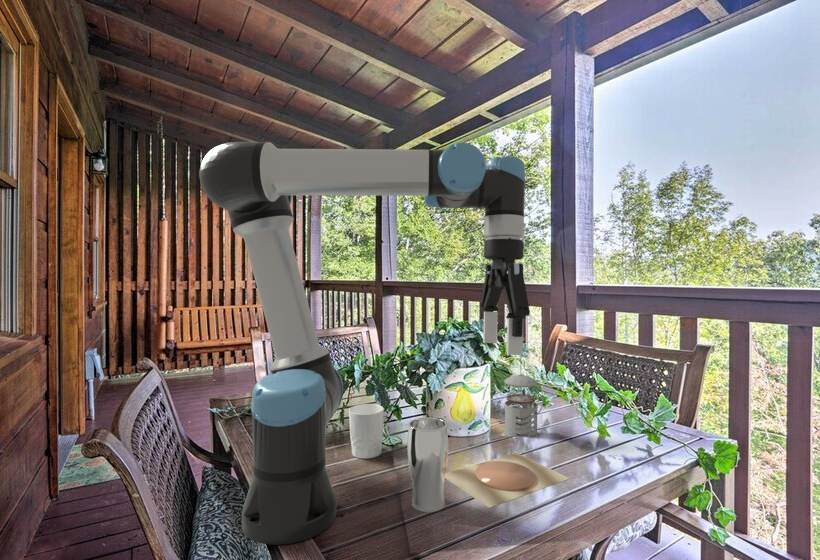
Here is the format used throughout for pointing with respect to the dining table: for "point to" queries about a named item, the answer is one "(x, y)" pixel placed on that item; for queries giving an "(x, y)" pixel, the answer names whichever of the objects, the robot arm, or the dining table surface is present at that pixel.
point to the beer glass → (427, 462)
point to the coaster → (505, 475)
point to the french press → (522, 413)
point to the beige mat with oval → (494, 497)
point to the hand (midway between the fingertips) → (501, 348)
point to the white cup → (366, 430)
